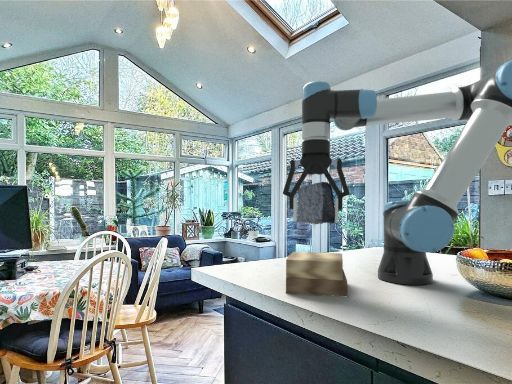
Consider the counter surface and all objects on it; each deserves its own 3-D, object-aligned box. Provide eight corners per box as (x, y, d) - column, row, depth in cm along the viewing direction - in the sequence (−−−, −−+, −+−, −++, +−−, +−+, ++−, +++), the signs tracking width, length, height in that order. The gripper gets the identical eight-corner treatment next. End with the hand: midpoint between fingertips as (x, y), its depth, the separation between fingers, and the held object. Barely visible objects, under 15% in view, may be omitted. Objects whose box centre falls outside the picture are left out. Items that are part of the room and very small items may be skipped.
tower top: (342, 269, 99) (342, 253, 99) (342, 280, 85) (342, 262, 85) (293, 267, 102) (293, 251, 102) (286, 277, 88) (286, 259, 88)
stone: (342, 229, 93) (327, 220, 86) (308, 234, 98) (292, 225, 91) (338, 189, 98) (324, 176, 90) (307, 195, 103) (291, 184, 95)
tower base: (343, 284, 99) (343, 268, 99) (347, 299, 85) (347, 280, 85) (290, 282, 102) (290, 266, 102) (285, 295, 87) (285, 278, 87)
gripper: (357, 141, 96) (357, 221, 96) (275, 143, 100) (275, 220, 100) (360, 136, 89) (360, 223, 88) (272, 139, 93) (271, 221, 92)
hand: (315, 221), depth 94 cm, fingers closed on stone, 10 cm apart
